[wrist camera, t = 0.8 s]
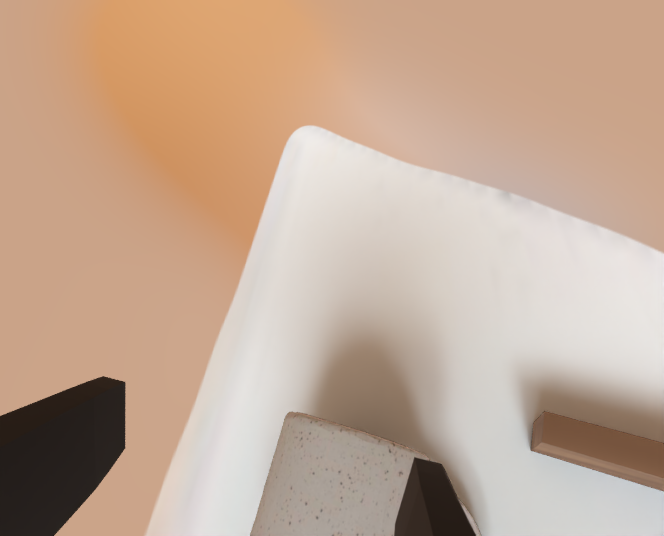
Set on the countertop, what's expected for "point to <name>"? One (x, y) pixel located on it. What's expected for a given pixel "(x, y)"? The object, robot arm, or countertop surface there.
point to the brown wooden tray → (600, 449)
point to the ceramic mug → (334, 482)
